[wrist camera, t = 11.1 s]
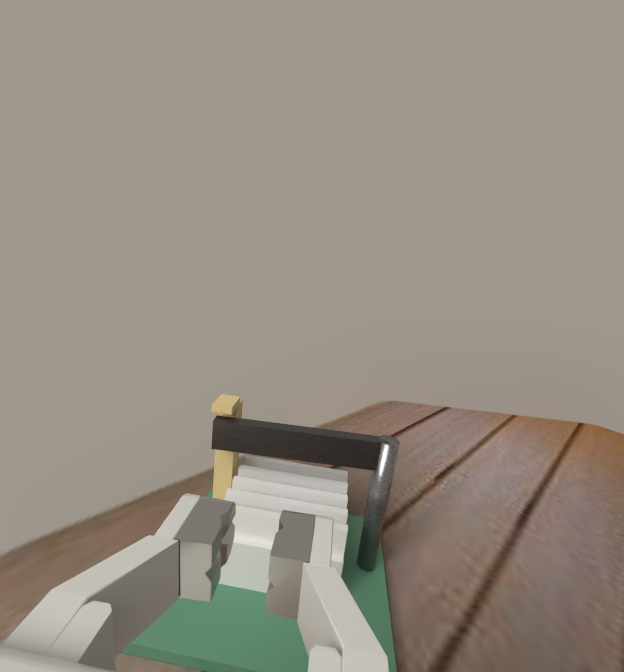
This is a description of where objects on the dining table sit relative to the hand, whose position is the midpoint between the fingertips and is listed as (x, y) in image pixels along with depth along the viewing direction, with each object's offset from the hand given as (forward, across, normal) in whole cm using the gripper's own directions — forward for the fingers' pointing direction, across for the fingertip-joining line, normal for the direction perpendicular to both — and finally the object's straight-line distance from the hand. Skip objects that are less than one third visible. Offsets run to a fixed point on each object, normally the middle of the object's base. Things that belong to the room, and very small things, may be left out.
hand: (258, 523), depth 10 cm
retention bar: (+21, +1, +23) cm, 31 cm away
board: (+19, +2, +25) cm, 31 cm away
